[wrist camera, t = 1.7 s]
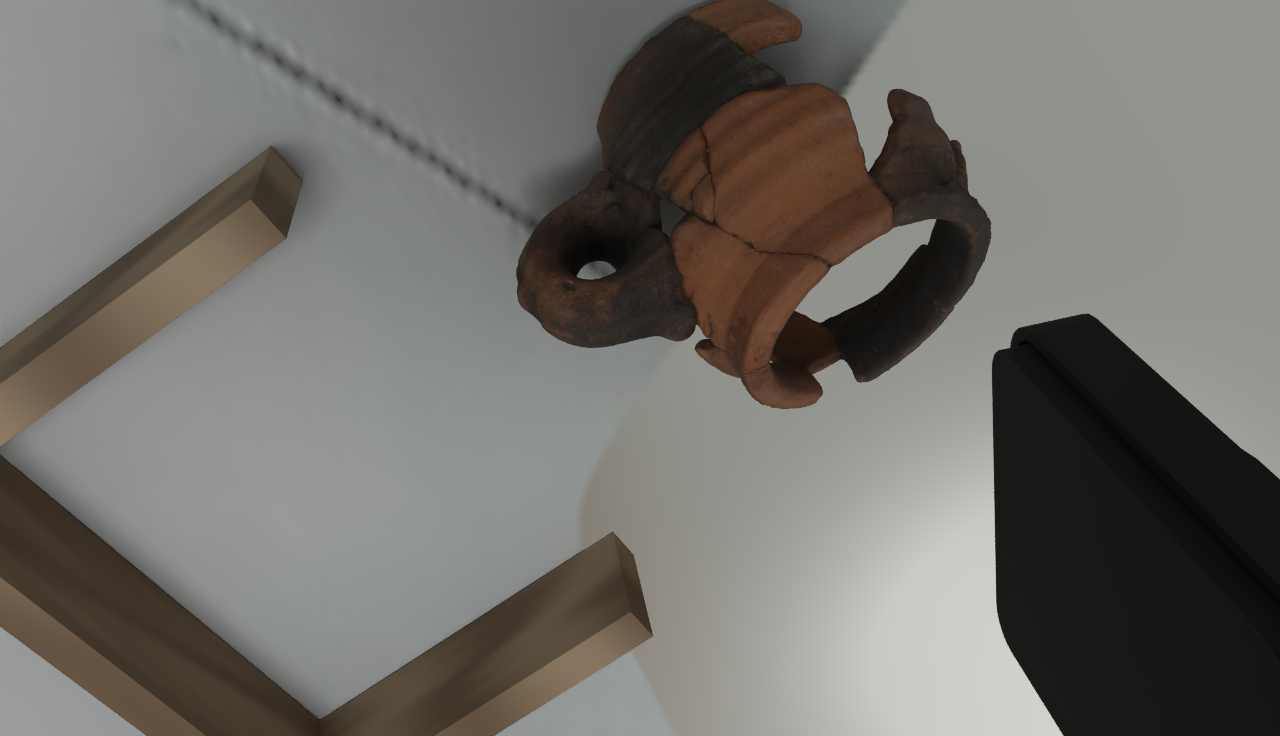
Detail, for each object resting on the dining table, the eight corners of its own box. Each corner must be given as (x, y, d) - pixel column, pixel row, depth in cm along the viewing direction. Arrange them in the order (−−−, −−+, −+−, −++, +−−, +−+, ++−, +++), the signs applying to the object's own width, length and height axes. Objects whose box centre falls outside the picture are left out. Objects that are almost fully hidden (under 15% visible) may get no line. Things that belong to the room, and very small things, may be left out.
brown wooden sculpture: (850, -83, 31) (1058, 105, 27) (827, 172, 39) (986, 350, 35) (424, 88, 29) (578, 327, 24) (490, 326, 36) (617, 540, 32)
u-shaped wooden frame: (271, 146, 31) (250, 199, 28) (633, 554, 39) (652, 636, 36) (-101, 422, 33) (-163, 504, 30) (315, 758, 41) (304, 853, 38)
